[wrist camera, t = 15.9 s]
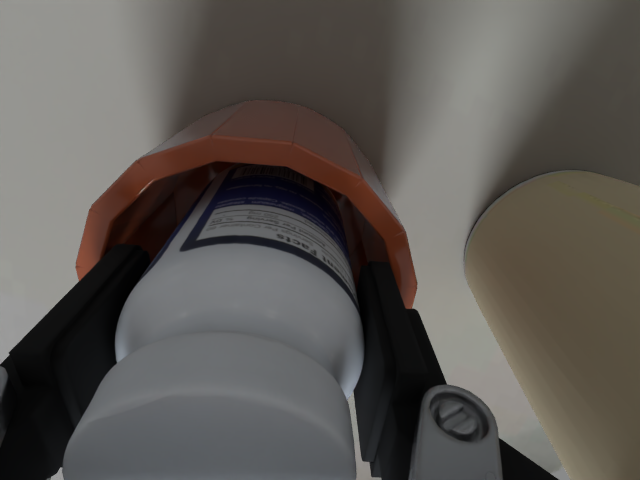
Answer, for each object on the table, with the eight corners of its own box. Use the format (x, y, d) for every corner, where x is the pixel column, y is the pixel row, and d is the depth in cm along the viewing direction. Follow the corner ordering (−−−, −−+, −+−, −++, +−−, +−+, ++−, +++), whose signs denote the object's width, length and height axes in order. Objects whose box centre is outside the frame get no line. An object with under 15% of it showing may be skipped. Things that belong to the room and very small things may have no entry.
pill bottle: (260, 303, 16) (201, 597, 8) (168, 208, 14) (-67, 471, 5) (369, 239, 15) (449, 513, 6) (286, 121, 13) (226, 291, 4)
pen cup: (394, 111, 14) (453, 155, 8) (361, 301, 18) (384, 416, 13) (151, 88, 13) (35, 119, 8) (175, 290, 18) (111, 406, 12)
